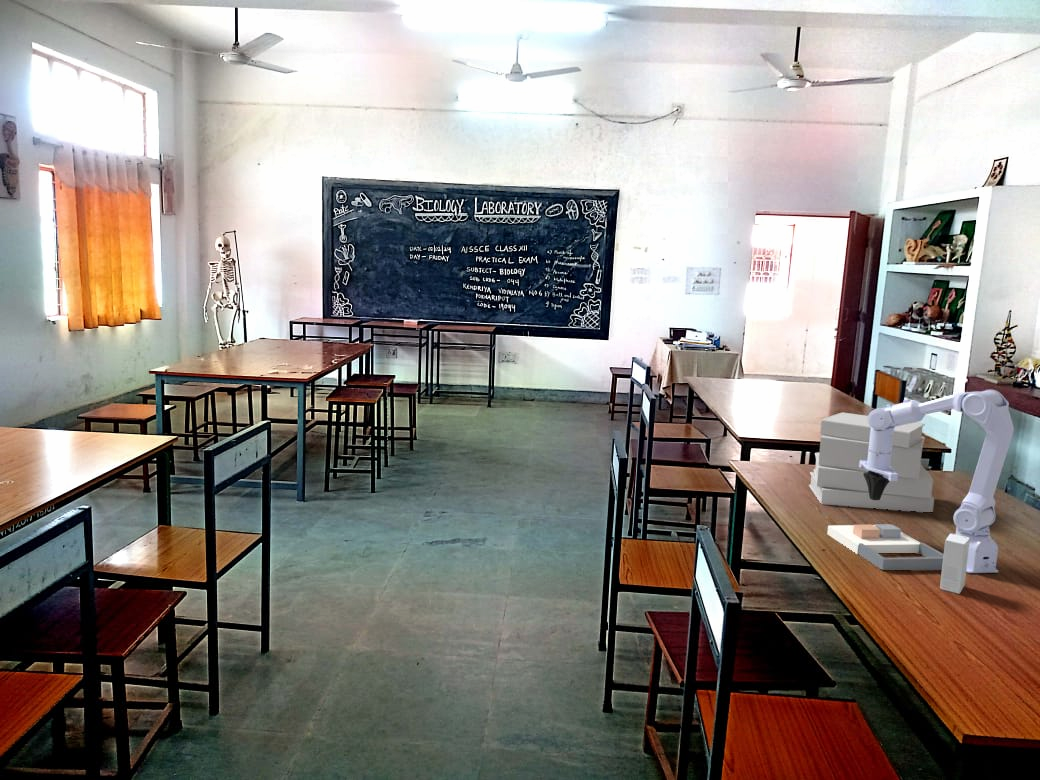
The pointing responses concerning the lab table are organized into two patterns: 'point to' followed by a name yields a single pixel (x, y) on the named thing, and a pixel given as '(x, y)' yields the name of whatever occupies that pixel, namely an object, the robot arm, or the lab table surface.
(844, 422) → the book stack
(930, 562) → the grey rectangular frame
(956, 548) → the skincare box
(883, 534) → the grey rectangular block
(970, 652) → the lab table surface
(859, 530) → the peach block
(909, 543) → the board
